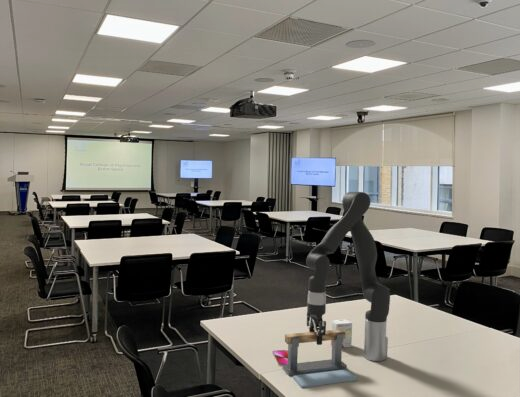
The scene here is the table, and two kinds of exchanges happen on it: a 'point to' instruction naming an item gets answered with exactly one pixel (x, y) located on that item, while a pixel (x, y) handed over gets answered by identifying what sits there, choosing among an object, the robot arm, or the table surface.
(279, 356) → the smartphone
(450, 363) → the table surface
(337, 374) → the mat
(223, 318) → the table surface
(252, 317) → the table surface
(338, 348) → the rack
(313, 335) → the rail
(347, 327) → the ink box
